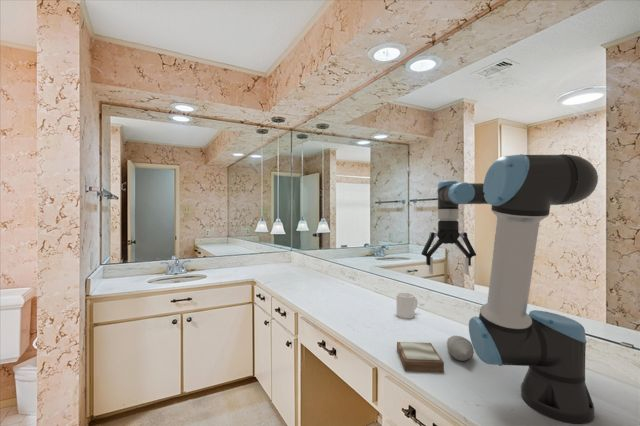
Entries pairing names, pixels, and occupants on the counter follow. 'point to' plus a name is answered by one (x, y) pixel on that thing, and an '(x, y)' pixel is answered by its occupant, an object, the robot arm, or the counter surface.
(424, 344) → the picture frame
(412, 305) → the mug
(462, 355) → the seashell
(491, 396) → the counter surface
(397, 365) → the counter surface
